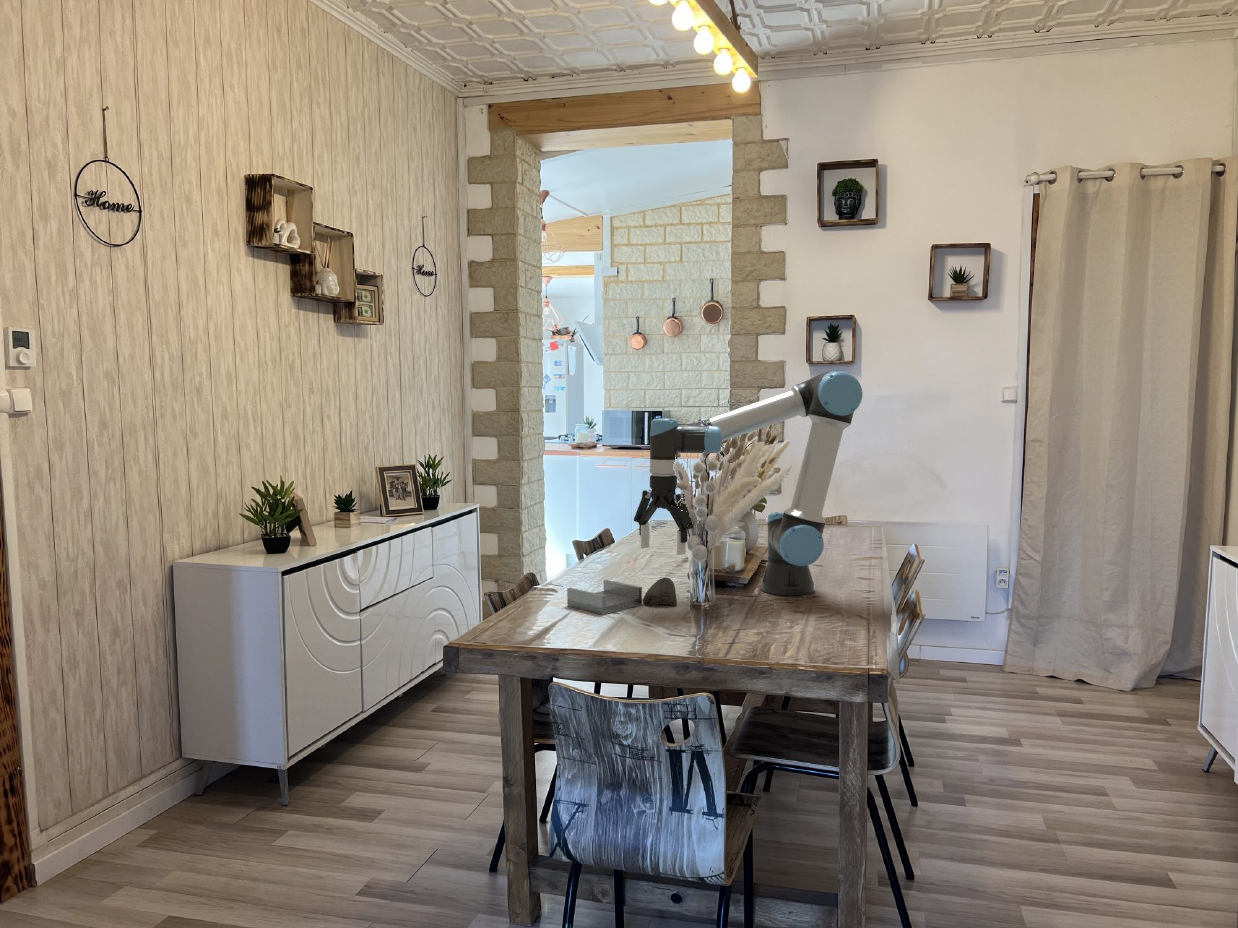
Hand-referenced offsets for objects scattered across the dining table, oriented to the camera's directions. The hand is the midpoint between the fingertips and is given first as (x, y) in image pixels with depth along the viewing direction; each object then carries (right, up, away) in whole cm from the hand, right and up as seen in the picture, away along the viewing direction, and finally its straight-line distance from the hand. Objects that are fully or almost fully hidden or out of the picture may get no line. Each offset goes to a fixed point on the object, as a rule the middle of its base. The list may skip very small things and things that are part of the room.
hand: (662, 551), depth 249 cm
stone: (0, -15, +1) cm, 15 cm away
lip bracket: (-16, -15, -1) cm, 22 cm away
